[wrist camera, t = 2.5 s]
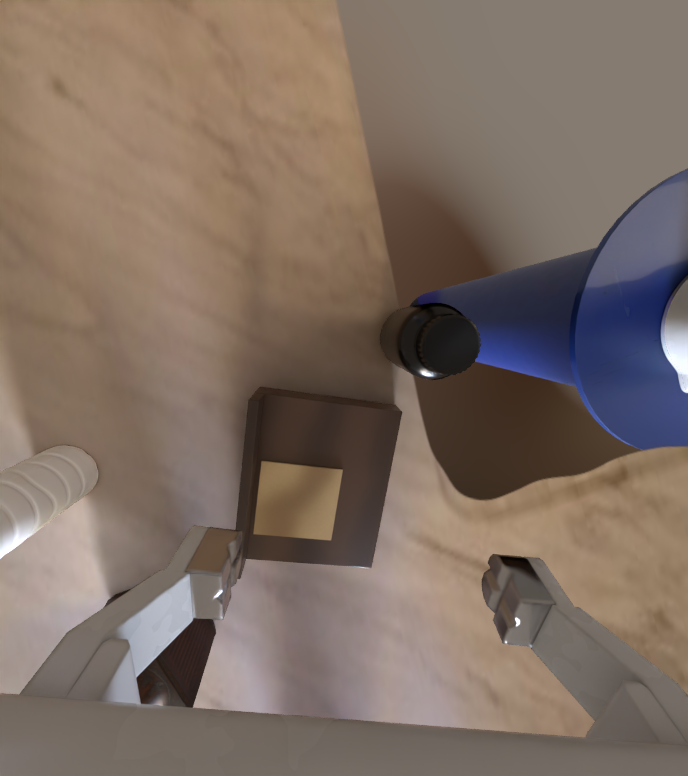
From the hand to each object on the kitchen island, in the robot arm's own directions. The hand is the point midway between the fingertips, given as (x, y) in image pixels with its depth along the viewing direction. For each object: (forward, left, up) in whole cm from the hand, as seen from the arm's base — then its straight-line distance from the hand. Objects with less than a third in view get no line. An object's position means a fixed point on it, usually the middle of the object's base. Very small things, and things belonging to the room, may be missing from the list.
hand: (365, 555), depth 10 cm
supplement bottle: (-8, -7, -27) cm, 29 cm away
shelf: (0, +11, -27) cm, 29 cm away
